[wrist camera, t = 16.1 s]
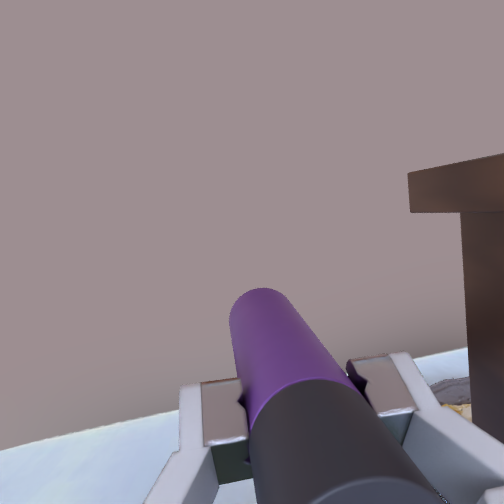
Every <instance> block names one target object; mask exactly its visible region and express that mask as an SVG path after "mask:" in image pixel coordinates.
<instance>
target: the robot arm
mask: <svg viewBox="0 0 504 504" xmlns="http://www.w3.org/2000/svg"><path fill="white" fill-rule="evenodd" d="M346 370H347V373H348V376H347V377H348V378H349V379H350V380H351V382H352V383H353V384H354V386H355V387H356V388H357V390H358V391H359V392H360V393H361V395H362V396H363V397H364V399H365V400H366V401H367V402H368V404H369V405H370V406H371V408H372V409H373V410H374V412H375V413H376V414H377V415H378V417H379V418H380V419H381V421H382V422H383V423H384V424H385V426H386V427H387V428H388V430H389V431H390V432H391V434H392V435H393V436H394V437H395V439H396V440H397V441H398V443H399V444H400V445H401V446H402V448H403V449H404V450H405V452H406V453H407V454H408V456H409V457H410V458H411V459H412V461H413V462H414V463H415V465H416V466H417V467H418V468H419V470H420V471H421V472H422V474H423V475H424V476H425V478H426V479H427V480H428V481H429V483H430V484H431V485H432V486H433V487H434V488H435V489H436V490H437V491H438V492H439V493H440V494H441V495H442V496H443V497H444V498H445V499H446V500H447V501H449V502H450V503H451V504H504V444H503V443H501V442H500V441H498V440H497V439H495V438H494V437H492V436H491V435H489V434H488V433H486V432H485V431H483V430H482V429H480V428H479V427H478V426H476V425H475V424H473V423H472V422H470V421H469V420H467V419H466V418H464V417H463V416H461V415H460V414H458V413H457V412H455V411H454V410H452V409H451V408H449V407H448V406H443V407H441V405H440V404H439V402H438V400H437V399H436V397H435V395H434V394H433V392H432V390H431V389H430V387H429V385H428V384H427V382H426V381H425V379H424V377H423V376H422V374H421V372H420V371H419V369H418V367H417V366H416V364H415V362H414V361H413V359H412V357H411V356H410V354H409V353H407V352H406V351H401V352H395V353H389V354H379V355H373V356H367V357H361V358H355V359H350V360H348V362H347V364H346ZM244 408H245V407H244V398H243V390H242V384H241V377H237V378H230V379H223V380H215V381H208V382H199V383H194V384H186V385H181V386H180V391H179V451H177V452H173V453H172V454H171V456H170V458H169V460H168V461H167V463H166V465H165V466H164V468H163V470H162V472H161V473H160V475H159V477H158V478H157V480H156V482H155V483H154V485H153V487H152V489H151V490H150V492H149V494H148V495H147V497H146V499H145V500H144V502H143V504H213V502H214V499H215V497H216V494H217V492H218V489H219V485H222V484H226V483H231V482H236V481H241V480H246V479H251V478H253V474H252V467H251V461H250V454H249V433H248V426H247V418H246V411H245V409H244Z"/></svg>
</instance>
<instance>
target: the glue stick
mask: <svg viewBox="0 0 504 504" xmlns="http://www.w3.org/2000/svg"><path fill="white" fill-rule="evenodd" d="M229 325H230V331H231V338H232V345H233V351H234V357H235V364H236V370H237V377H241V384H242V390H243V398H244V407H245V408H244V409H245V411H246V418H247V426H248V433H249V454H250V461H251V467H252V474H253V480H254V486H255V493H256V499H257V504H446V503H445V502H444V501H443V500H442V498H441V497H440V496H439V494H438V493H437V492H436V490H435V489H434V488H433V487H432V485H431V484H430V483H429V481H428V480H427V479H426V478H425V476H424V475H423V474H422V472H421V471H420V470H419V468H418V467H417V466H416V465H415V463H414V462H413V461H412V459H411V458H410V457H409V456H408V454H407V453H406V452H405V450H404V449H403V448H402V446H401V445H400V444H399V443H398V441H397V440H396V439H395V437H394V436H393V435H392V434H391V432H390V431H389V430H388V428H387V427H386V426H385V424H384V423H383V422H382V421H381V419H380V418H379V417H378V415H377V414H376V413H375V412H374V410H373V409H372V408H371V406H370V405H369V404H368V402H367V401H366V400H365V399H364V397H363V396H362V395H361V393H360V392H359V391H358V390H357V388H356V387H355V386H354V384H353V383H352V382H351V380H350V379H349V378H348V377H347V375H346V374H345V373H344V371H343V370H342V369H341V368H340V366H339V365H338V364H337V362H336V361H335V360H334V358H333V357H332V356H331V355H330V353H329V352H328V351H327V349H326V348H325V347H324V346H323V344H322V343H321V342H320V340H319V339H318V338H317V337H316V335H315V334H314V333H313V331H312V330H311V329H310V328H309V326H308V325H307V324H306V322H305V321H304V320H303V318H302V317H301V316H300V315H299V313H298V312H297V311H296V309H295V308H294V307H293V305H292V304H291V303H290V302H289V300H288V299H287V298H286V297H285V296H284V295H283V294H281V293H280V292H278V291H276V290H273V289H269V288H257V289H253V290H250V291H248V292H246V293H245V294H243V295H242V296H241V297H239V298H238V300H237V301H236V302H235V304H234V305H233V307H232V309H231V312H230V318H229Z"/></svg>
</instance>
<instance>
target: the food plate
mask: <svg viewBox="0 0 504 504" xmlns="http://www.w3.org/2000/svg"><path fill="white" fill-rule="evenodd" d="M429 387H430V389H431V390H432V392H433V394H434V395H435V397H436V399H437V400H438V402H439V404H440V405H441V407H443V406H448V407H449V408H451V409H452V410H454V411H455V412H457V413H458V414H460V415H461V416H463V417H464V418H466V419H467V420H469V421H470V422H472V414H471V396H470V379H469V377H465V378H459V379H458V378H457V379H454V378H453V379H449V380H447V379H446V380H443V381H440V382H438V383H435V384H433V385H431V386H429Z"/></svg>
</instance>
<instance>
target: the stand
mask: <svg viewBox="0 0 504 504" xmlns="http://www.w3.org/2000/svg"><path fill="white" fill-rule="evenodd" d="M408 188H409V203H410V212H411V213H460V219H461V237H462V255H463V272H464V290H465V308H466V326H467V343H468V361H469V379H470V396H471V414H472V423H473V424H475V425H476V426H478V427H479V428H480V429H482V430H483V431H485V432H486V433H488V434H489V435H491V436H492V437H494V438H495V439H497V440H498V441H500V442H501V443H503V444H504V153H502V154H497V155H492V156H487V157H482V158H478V159H473V160H468V161H463V162H459V163H453V164H449V165H444V166H439V167H434V168H429V169H424V170H419V171H415V172H410V173H408Z"/></svg>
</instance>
